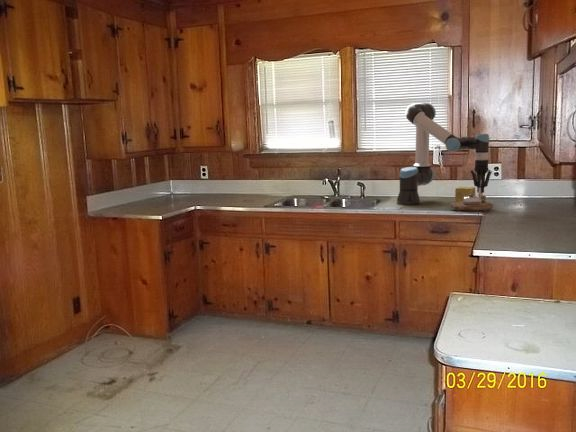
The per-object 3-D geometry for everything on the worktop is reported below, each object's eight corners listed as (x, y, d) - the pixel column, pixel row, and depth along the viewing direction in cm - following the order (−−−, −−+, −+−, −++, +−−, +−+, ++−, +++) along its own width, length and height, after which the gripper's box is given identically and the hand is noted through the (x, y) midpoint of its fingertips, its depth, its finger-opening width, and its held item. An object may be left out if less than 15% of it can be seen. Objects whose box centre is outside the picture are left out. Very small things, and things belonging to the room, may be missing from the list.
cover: (460, 204, 333) (460, 194, 332) (470, 202, 338) (470, 192, 336) (471, 206, 325) (472, 195, 324) (482, 204, 330) (482, 194, 329)
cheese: (470, 204, 353) (471, 188, 351) (454, 203, 359) (454, 188, 357) (475, 201, 362) (475, 186, 360) (458, 200, 368) (459, 186, 366)
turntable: (442, 206, 335) (442, 197, 334) (468, 202, 348) (469, 193, 347) (474, 211, 315) (475, 202, 314) (501, 206, 328) (501, 197, 327)
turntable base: (455, 210, 332) (455, 207, 332) (466, 207, 342) (466, 204, 341) (476, 212, 322) (477, 209, 322) (487, 209, 332) (488, 206, 331)
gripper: (468, 159, 335) (467, 197, 340) (489, 160, 326) (487, 199, 331) (474, 158, 341) (473, 196, 345) (494, 159, 331) (493, 198, 336)
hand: (480, 198), depth 338 cm, fingers closed
